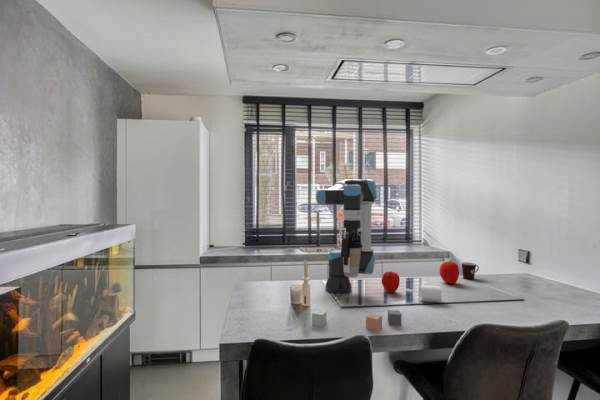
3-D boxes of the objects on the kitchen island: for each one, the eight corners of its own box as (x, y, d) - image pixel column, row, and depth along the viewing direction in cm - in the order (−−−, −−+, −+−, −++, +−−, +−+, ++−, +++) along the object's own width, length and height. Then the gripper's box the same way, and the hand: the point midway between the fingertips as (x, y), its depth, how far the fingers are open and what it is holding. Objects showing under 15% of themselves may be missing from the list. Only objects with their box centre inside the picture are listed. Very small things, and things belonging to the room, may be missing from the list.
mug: (441, 304, 176) (442, 289, 176) (421, 303, 178) (421, 287, 178) (437, 297, 188) (437, 283, 188) (418, 296, 190) (418, 281, 190)
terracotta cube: (366, 328, 145) (366, 316, 145) (371, 324, 149) (371, 313, 149) (377, 331, 142) (377, 319, 142) (382, 327, 146) (382, 315, 146)
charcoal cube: (389, 325, 148) (389, 314, 148) (387, 321, 153) (387, 310, 153) (401, 326, 148) (401, 314, 148) (399, 321, 153) (399, 310, 152)
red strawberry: (462, 286, 212) (463, 263, 211) (443, 285, 212) (444, 262, 212) (453, 280, 224) (454, 259, 224) (436, 280, 224) (436, 258, 224)
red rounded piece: (380, 293, 194) (380, 272, 194) (382, 289, 204) (383, 268, 203) (398, 295, 191) (398, 273, 190) (400, 291, 200) (400, 270, 200)
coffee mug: (463, 279, 226) (463, 264, 226) (459, 276, 235) (460, 262, 235) (482, 280, 225) (482, 265, 224) (478, 277, 233) (478, 262, 233)
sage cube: (311, 324, 148) (312, 313, 148) (315, 320, 153) (315, 309, 153) (323, 326, 146) (323, 314, 146) (326, 322, 151) (326, 311, 151)
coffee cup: (338, 273, 158) (339, 240, 157) (359, 272, 159) (359, 240, 158) (343, 278, 148) (343, 243, 148) (364, 278, 149) (365, 243, 149)
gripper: (348, 221, 142) (347, 276, 143) (369, 218, 159) (369, 267, 160) (332, 220, 147) (332, 273, 147) (355, 217, 164) (354, 265, 164)
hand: (351, 270), depth 153 cm, fingers closed on coffee cup, 8 cm apart
